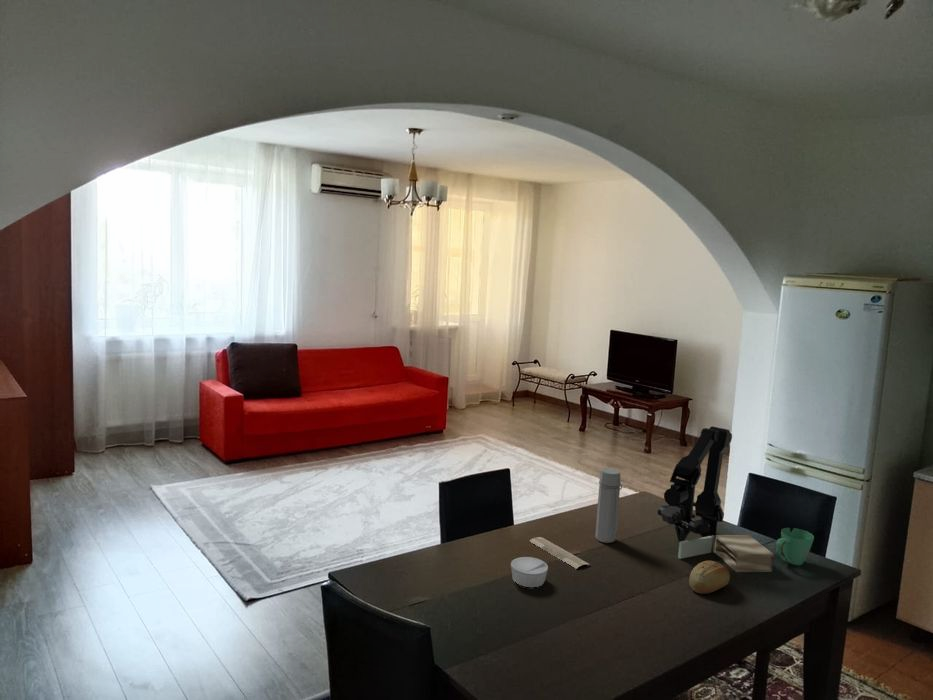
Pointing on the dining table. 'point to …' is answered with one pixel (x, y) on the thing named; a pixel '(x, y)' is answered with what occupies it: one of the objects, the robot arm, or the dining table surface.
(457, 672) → the dining table surface
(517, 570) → the ramekin
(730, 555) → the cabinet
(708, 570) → the bread roll
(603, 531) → the water bottle
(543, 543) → the newspaper
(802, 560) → the mug
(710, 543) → the door
